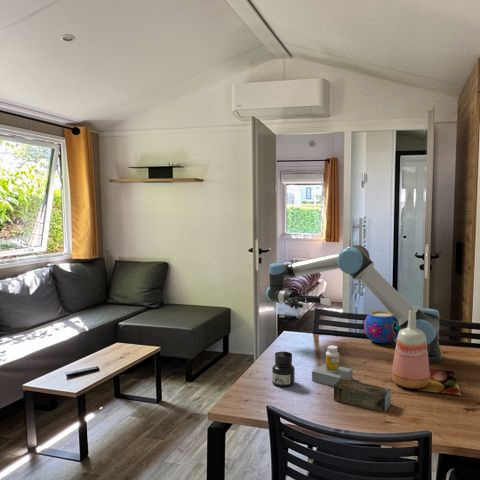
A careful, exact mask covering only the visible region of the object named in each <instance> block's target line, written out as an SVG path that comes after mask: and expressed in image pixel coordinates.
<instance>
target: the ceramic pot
mask: <svg viewBox="0 0 480 480" xmlns="http://www.w3.org/2000/svg"><path fill="white" fill-rule="evenodd" d="M363 329H364V330H363V331H364V333H365V335H366V337H367V338H368V339H369V340H370V341H373V342H374V343H377V344H383V345H384V344H390V343H392V342H393V341H396V340H397V337H398V333H399V331H400V330H401V328H400V327H399V322H398V320H397V319H396V318H395V317H394V316H393V314H392V313H391V312H390V311H385V310H384V311H382V310H381V311H380V310H377V311H376V310H375V311H371V312H369V313H368V314H367V315H366V316H365V319H364V322H363Z"/></svg>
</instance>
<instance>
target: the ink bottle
mask: <svg viewBox="0 0 480 480" xmlns="http://www.w3.org/2000/svg"><path fill="white" fill-rule="evenodd" d="M292 361H293V353H292V352H290V351H282V350H281V351H277V352H275V353H274V365H273V366H272V369H271V372H272V373H271V375H272V377H271V378H272V379H271V381H272V384H273V385H274V386H277V387H280V388H288V387H292V386H294V384H295V380H296V379H295V377H296V376H295V375H296V374H295V373H296V371H295V366H294V365H293V364H292V363H293V362H292Z"/></svg>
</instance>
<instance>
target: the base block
mask: <svg viewBox="0 0 480 480" xmlns="http://www.w3.org/2000/svg"><path fill="white" fill-rule="evenodd" d="M341 378H342V379H347V380H352V379H353V369H352V368H350V367H344V366H340V365H339V371H338V372H328V371H327V370H326V362H325V363H324V364H322V365H321V366H318V367H317V368H315V369H313V370H312V371H311V381H312V382H314V383H318V384H319V383H320V384H323V385H327V386H330V387H334V385H335V384H336V383H337V382H338V381H339V380H340V379H341Z"/></svg>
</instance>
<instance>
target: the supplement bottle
mask: <svg viewBox="0 0 480 480" xmlns="http://www.w3.org/2000/svg"><path fill="white" fill-rule="evenodd" d="M325 363H326V370H327V371H328V372H338V371H339V366H340V353H339V352H338V346H337V345H332V344H331V345H328V346H327V350H326V352H325Z"/></svg>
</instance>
